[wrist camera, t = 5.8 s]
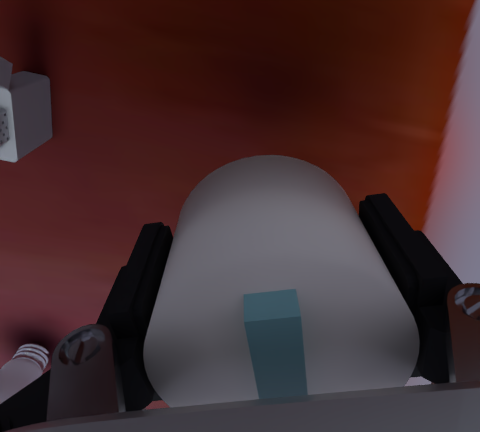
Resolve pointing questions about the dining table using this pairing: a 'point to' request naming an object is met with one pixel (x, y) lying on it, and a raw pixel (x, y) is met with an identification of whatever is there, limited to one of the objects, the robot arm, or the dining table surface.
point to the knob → (275, 293)
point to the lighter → (23, 112)
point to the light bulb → (22, 369)
